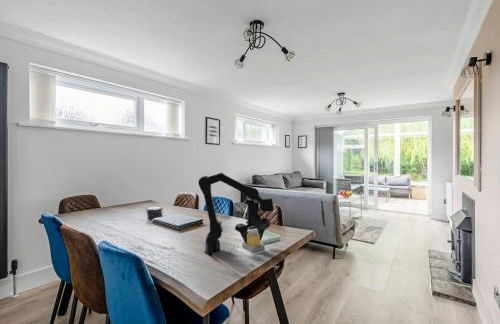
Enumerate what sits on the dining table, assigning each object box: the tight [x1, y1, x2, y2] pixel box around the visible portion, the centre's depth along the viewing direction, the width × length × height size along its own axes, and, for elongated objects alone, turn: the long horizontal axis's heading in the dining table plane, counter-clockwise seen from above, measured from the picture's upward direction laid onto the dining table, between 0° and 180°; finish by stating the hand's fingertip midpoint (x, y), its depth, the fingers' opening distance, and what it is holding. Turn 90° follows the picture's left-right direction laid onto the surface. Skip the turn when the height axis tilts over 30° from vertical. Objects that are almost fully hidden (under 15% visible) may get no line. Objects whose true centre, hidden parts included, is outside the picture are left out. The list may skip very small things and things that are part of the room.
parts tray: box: [247, 228, 282, 245], centre depth 150 cm, size 13×20×3 cm, turn 36°
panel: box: [236, 242, 272, 257], centre depth 130 cm, size 14×12×4 cm
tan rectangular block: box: [247, 232, 261, 248], centre depth 130 cm, size 4×6×8 cm, turn 36°
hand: (253, 242), depth 130 cm, fingers open, 9 cm apart
